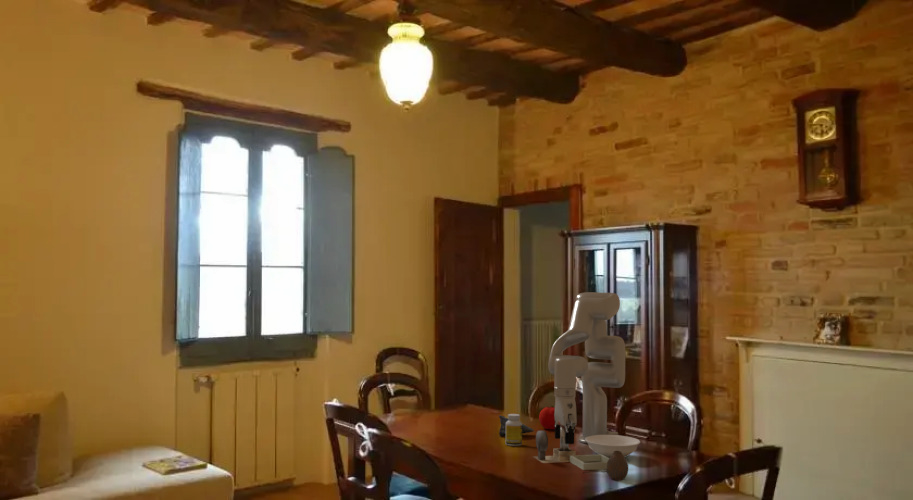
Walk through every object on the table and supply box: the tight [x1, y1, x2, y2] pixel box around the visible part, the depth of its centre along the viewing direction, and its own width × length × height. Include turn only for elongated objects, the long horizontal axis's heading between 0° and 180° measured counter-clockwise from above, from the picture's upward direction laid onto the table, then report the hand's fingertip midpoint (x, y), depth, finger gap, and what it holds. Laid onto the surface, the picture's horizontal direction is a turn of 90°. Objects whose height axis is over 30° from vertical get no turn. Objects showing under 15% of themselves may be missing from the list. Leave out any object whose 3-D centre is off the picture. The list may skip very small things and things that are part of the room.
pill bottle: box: [504, 413, 523, 447], centre depth 304 cm, size 6×6×12 cm
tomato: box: [538, 405, 555, 431], centre depth 339 cm, size 11×13×10 cm
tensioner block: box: [532, 430, 577, 464], centre depth 276 cm, size 14×10×11 cm
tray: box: [569, 454, 610, 474], centre depth 268 cm, size 12×12×3 cm
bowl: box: [585, 434, 641, 458], centre depth 285 cm, size 20×20×6 cm
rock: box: [498, 414, 535, 437], centre depth 322 cm, size 16×8×10 cm
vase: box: [606, 451, 629, 481], centre depth 254 cm, size 7×7×9 cm
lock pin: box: [558, 421, 570, 452], centre depth 277 cm, size 5×5×13 cm
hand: (564, 441), depth 277 cm, fingers open, 9 cm apart
